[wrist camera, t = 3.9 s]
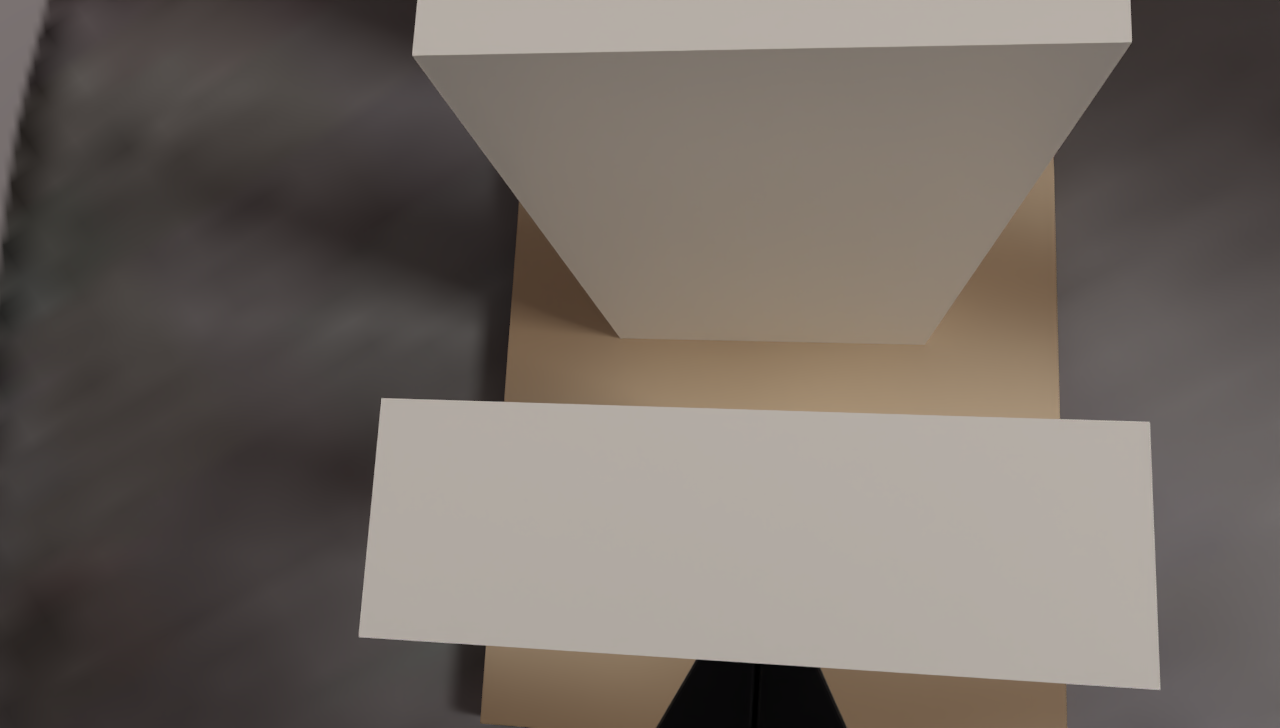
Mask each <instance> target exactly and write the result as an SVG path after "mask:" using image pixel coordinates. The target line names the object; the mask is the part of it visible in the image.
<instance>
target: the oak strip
mask: <svg viewBox="0 0 1280 728" xmlns="http://www.w3.org/2000/svg"><path fill="white" fill-rule="evenodd" d="M504 402H523V403H555V404H587V405H620V406H652V407H684V408H716V409H748V410H781V411H813V412H845V413H877V414H909V415H942V416H974V417H1006V418H1038V419H1060V405H1059V362H1058V320H1057V277H1056V234H1055V191H1054V157H1053V158H1052V160H1051V161H1050V163H1049V164H1048V166H1047V167H1046V169H1045V170H1044V171H1043V173H1042V174H1041V176H1040V177H1039V179H1038V180H1037V182H1036V183H1035V185H1034V186H1033V188H1032V189H1031V190H1030V192H1029V193H1028V195H1027V196H1026V198H1025V199H1024V201H1023V202H1022V204H1021V205H1020V206H1019V208H1018V209H1017V211H1016V212H1015V214H1014V215H1013V217H1012V218H1011V220H1010V221H1009V223H1008V224H1007V225H1006V227H1005V228H1004V230H1003V231H1002V233H1001V234H1000V236H999V237H998V239H997V240H996V241H995V243H994V244H993V246H992V247H991V249H990V250H989V252H988V253H987V255H986V256H985V258H984V259H983V260H982V262H981V263H980V265H979V266H978V268H977V269H976V271H975V272H974V274H973V275H972V276H971V278H970V279H969V281H968V282H967V284H966V285H965V287H964V288H963V290H962V291H961V293H960V294H959V295H958V297H957V298H956V300H955V301H954V303H953V304H952V306H951V307H950V309H949V310H948V312H947V313H946V314H945V316H944V317H943V319H942V320H941V322H940V323H939V325H938V326H937V328H936V329H935V330H934V332H933V333H932V335H931V336H930V338H929V339H928V341H927V342H926V344H925V345H908V344H862V343H816V342H769V341H723V340H677V339H631V338H620V337H619V336H618V335H617V333H616V332H615V331H614V329H613V328H612V326H611V325H610V324H609V322H608V321H607V320H606V318H605V317H604V316H603V314H602V313H601V312H600V310H599V309H598V307H597V306H596V305H595V303H594V302H593V301H592V299H591V298H590V297H589V295H588V294H587V293H586V291H585V290H584V288H583V287H582V286H581V284H580V283H579V282H578V280H577V279H576V278H575V276H574V275H573V273H572V272H571V271H570V269H569V268H568V267H567V265H566V264H565V263H564V261H563V260H562V259H561V257H560V256H559V254H558V253H557V252H556V250H555V249H554V248H553V246H552V245H551V244H550V242H549V241H548V240H547V238H546V237H545V235H544V234H543V233H542V231H541V230H540V229H539V227H538V226H537V225H536V223H535V222H534V221H533V219H532V218H531V216H530V215H529V214H528V212H527V211H526V210H525V208H524V207H523V206H522V204H521V203H520V202H519V209H518V223H517V236H516V249H515V263H514V276H513V290H512V303H511V317H510V330H509V343H508V357H507V370H506V384H505V397H504ZM695 660H696V659H683V658H668V657H653V656H638V655H623V654H607V653H592V652H577V651H562V650H547V649H532V648H516V647H501V646H486V652H485V665H484V679H483V692H482V706H481V719H480V723H481V724H494V725H507V726H519V727H532V728H656V726H657V725H658V723H659V721H660V720H661V718H662V716H663V715H664V713H665V711H666V709H667V708H668V706H669V704H670V703H671V701H672V699H673V698H674V696H675V694H676V692H677V691H678V689H679V687H680V686H681V684H682V682H683V680H684V679H685V677H686V675H687V674H688V672H689V670H690V669H691V667H692V665H693V663H694V662H695ZM821 670H822V673H823V675H824V677H825V679H826V681H827V684H828V686H829V688H830V690H831V693H832V695H833V697H834V699H835V702H836V704H837V706H838V708H839V710H840V713H841V715H842V717H843V719H844V722H845V724H846V726H847V728H1067V704H1066V684H1063V683H1048V682H1032V681H1017V680H1002V679H987V678H972V677H957V676H941V675H926V674H911V673H896V672H881V671H865V670H850V669H835V668H821Z"/></svg>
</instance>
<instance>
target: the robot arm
mask: <svg viewBox="0 0 1280 728" xmlns="http://www.w3.org/2000/svg"><path fill="white" fill-rule="evenodd" d="M656 728H847V726H846V724H845V722H844V719H843V717H842V715H841V713H840V710H839V708H838V706H837V704H836V702H835V699H834V697H833V695H832V693H831V690H830V688H829V686H828V684H827V681H826V679H825V677H824V675H823V673H822V670H821V668H820V667H805V666H790V665H774V664H759V663H744V662H729V661H714V660H699V659H696V660H695V662H694V663H693V665H692V667H691V669H690V670H689V672H688V674H687V675H686V677H685V679H684V680H683V682H682V684H681V686H680V687H679V689H678V691H677V692H676V694H675V696H674V698H673V699H672V701H671V703H670V704H669V706H668V708H667V709H666V711H665V713H664V715H663V716H662V718H661V720H660V721H659V723H658V725H657V726H656Z"/></svg>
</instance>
